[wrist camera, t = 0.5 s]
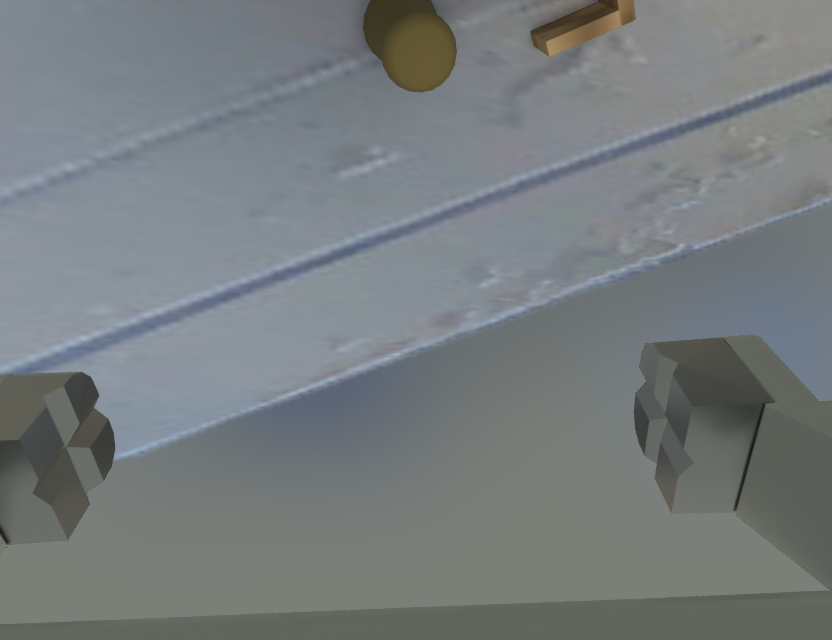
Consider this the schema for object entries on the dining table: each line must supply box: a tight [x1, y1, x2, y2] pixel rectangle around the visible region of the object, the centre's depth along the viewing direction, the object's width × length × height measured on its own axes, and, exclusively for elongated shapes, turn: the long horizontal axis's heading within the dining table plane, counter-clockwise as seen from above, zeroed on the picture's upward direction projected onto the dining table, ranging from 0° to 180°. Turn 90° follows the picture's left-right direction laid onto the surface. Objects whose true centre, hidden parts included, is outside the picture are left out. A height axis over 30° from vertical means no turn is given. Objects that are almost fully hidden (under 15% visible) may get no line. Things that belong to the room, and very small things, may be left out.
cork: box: [363, 0, 457, 92], centre depth 46 cm, size 6×6×11 cm
